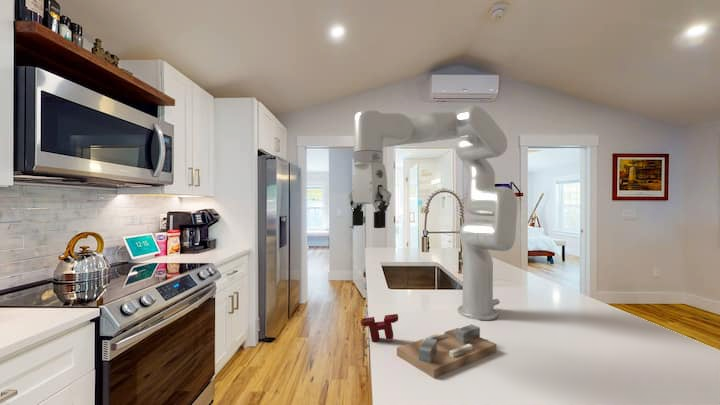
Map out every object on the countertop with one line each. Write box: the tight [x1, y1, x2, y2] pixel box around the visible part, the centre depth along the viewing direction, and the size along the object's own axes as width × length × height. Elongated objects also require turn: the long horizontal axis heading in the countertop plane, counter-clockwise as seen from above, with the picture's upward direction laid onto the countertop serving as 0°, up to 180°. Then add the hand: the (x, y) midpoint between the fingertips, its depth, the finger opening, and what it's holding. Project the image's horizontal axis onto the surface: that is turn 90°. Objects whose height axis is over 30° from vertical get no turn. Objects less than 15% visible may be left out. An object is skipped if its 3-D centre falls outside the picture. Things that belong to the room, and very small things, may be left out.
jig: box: [396, 324, 497, 379], centre depth 77 cm, size 22×12×4 cm, turn 123°
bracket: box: [360, 313, 399, 342], centre depth 85 cm, size 3×6×10 cm
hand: (368, 226), depth 81 cm, fingers open, 9 cm apart
